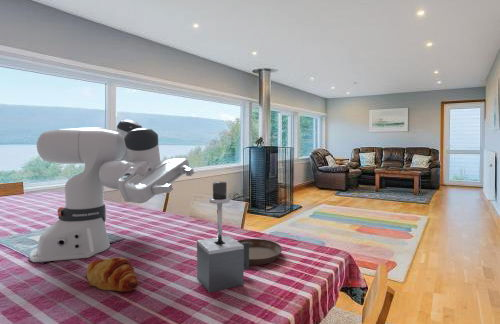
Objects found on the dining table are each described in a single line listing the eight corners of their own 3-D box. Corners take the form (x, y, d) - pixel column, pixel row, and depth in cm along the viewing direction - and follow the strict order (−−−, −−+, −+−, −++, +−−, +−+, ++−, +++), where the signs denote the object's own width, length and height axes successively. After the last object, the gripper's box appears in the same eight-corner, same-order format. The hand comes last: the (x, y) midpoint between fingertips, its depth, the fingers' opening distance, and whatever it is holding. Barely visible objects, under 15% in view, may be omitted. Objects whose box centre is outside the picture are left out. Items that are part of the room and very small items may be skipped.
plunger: (213, 247, 78) (213, 184, 77) (206, 241, 82) (206, 181, 81) (233, 244, 80) (233, 183, 79) (225, 238, 85) (225, 180, 84)
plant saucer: (266, 273, 88) (266, 262, 88) (213, 261, 97) (213, 251, 96) (291, 253, 103) (291, 244, 103) (243, 244, 112) (243, 235, 112)
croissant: (80, 288, 86) (64, 266, 82) (111, 260, 92) (97, 239, 89) (127, 312, 73) (110, 287, 70) (158, 278, 80) (145, 254, 77)
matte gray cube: (209, 292, 76) (209, 251, 75) (197, 277, 84) (197, 240, 83) (255, 282, 82) (256, 243, 81) (240, 269, 90) (240, 234, 89)
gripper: (169, 170, 101) (206, 173, 95) (120, 205, 85) (160, 210, 78) (164, 152, 99) (201, 153, 92) (112, 183, 82) (152, 187, 76)
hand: (182, 180), depth 85 cm, fingers open, 8 cm apart
